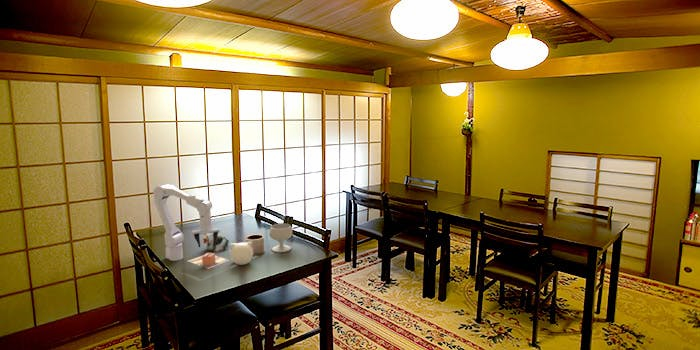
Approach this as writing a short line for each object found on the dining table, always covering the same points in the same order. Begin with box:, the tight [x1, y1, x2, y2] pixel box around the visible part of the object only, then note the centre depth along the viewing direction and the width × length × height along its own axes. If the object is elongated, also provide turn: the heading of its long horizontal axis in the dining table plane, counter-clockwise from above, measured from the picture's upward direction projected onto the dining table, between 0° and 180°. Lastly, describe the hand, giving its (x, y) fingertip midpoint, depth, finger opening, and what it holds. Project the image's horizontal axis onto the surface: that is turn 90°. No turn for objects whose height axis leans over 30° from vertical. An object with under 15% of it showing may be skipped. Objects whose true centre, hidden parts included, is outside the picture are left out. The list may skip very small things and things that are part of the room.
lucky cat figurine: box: [202, 233, 230, 253], centre depth 232 cm, size 15×12×14 cm
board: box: [187, 251, 231, 270], centre depth 214 cm, size 19×14×4 cm
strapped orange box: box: [201, 252, 216, 265], centre depth 209 cm, size 5×5×5 cm
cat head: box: [228, 242, 254, 266], centre depth 211 cm, size 15×13×12 cm
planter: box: [245, 233, 265, 255], centre depth 230 cm, size 11×11×10 cm
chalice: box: [268, 222, 293, 253], centre depth 234 cm, size 14×14×15 cm
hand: (206, 245), depth 213 cm, fingers open, 7 cm apart
